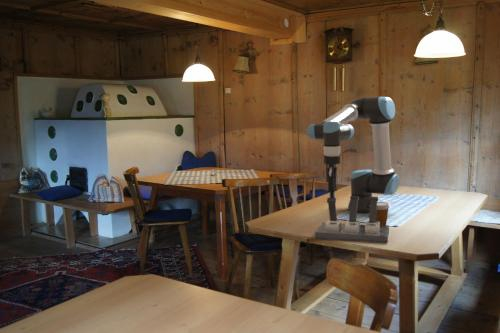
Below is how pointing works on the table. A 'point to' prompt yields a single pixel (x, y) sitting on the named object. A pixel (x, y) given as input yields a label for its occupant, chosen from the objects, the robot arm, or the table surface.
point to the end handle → (373, 209)
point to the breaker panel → (353, 231)
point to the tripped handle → (332, 208)
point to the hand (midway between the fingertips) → (332, 205)
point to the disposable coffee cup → (382, 213)
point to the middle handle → (353, 208)
